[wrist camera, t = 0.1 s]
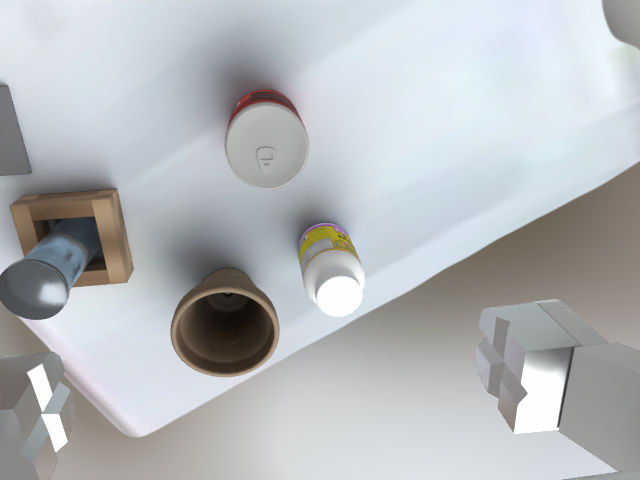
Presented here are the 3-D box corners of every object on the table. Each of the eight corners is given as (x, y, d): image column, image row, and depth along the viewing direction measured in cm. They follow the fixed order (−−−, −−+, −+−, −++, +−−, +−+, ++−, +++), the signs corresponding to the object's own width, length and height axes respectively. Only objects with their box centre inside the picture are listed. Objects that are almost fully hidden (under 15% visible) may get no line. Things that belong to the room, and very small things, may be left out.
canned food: (242, 169, 57) (239, 200, 47) (220, 98, 54) (211, 116, 44) (308, 151, 57) (319, 178, 47) (289, 80, 54) (296, 92, 44)
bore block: (23, 195, 55) (9, 205, 52) (117, 189, 56) (108, 198, 53) (46, 276, 59) (34, 290, 56) (133, 269, 60) (126, 282, 57)
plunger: (48, 211, 56) (-12, 265, 44) (101, 208, 57) (57, 260, 44) (61, 258, 59) (7, 322, 46) (112, 254, 59) (73, 316, 46)
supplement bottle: (358, 256, 63) (381, 310, 51) (310, 278, 63) (322, 335, 52) (338, 211, 60) (358, 256, 49) (288, 234, 61) (295, 284, 49)
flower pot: (282, 253, 62) (286, 293, 52) (270, 332, 66) (272, 381, 57) (185, 243, 60) (172, 283, 50) (179, 325, 64) (167, 375, 55)
